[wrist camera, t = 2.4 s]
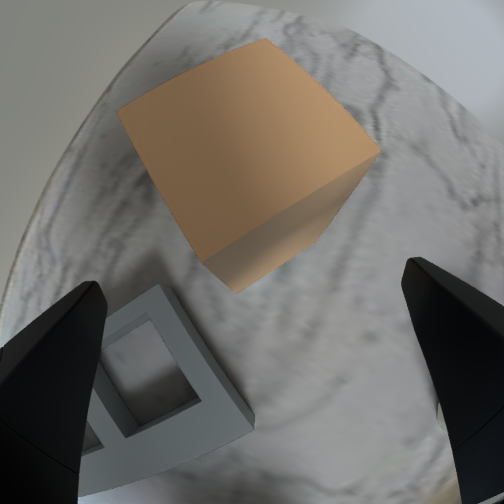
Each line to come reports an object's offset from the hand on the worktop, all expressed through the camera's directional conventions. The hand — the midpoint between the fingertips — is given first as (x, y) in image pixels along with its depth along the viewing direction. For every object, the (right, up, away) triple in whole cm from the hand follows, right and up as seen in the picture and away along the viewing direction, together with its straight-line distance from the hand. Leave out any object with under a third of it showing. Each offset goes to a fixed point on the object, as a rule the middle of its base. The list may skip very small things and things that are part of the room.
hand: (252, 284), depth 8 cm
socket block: (-9, -10, +9) cm, 16 cm away
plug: (0, +1, +12) cm, 12 cm away
